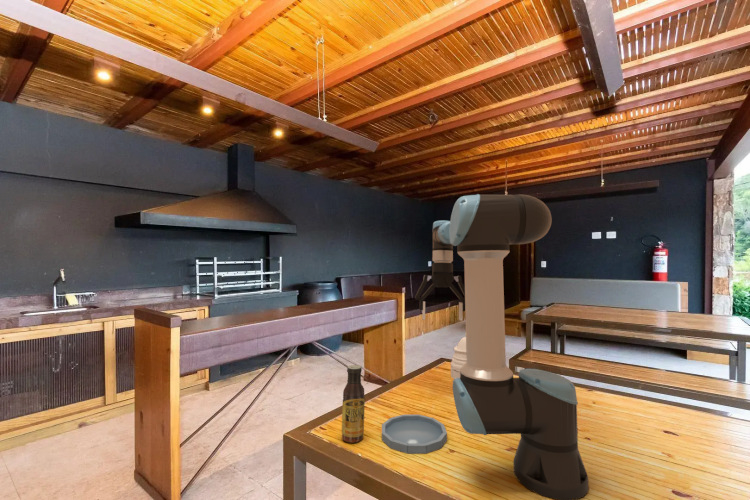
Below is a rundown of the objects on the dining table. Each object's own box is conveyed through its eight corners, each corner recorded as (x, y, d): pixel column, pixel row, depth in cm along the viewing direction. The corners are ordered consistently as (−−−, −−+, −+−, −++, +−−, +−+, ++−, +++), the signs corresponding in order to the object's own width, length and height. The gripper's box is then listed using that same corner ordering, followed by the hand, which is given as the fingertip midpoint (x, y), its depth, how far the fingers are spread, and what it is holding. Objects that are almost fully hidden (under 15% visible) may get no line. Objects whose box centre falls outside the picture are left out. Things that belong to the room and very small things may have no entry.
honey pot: (462, 369, 156) (461, 329, 157) (488, 376, 146) (487, 334, 147) (444, 376, 148) (443, 333, 149) (470, 384, 138) (469, 338, 139)
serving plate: (451, 453, 89) (451, 445, 89) (381, 453, 89) (381, 445, 89) (440, 421, 107) (440, 414, 107) (381, 421, 107) (381, 414, 107)
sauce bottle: (343, 445, 93) (343, 371, 94) (340, 434, 99) (339, 364, 100) (367, 442, 95) (366, 369, 95) (362, 431, 101) (361, 362, 101)
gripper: (473, 263, 132) (473, 319, 131) (408, 262, 133) (407, 317, 132) (478, 262, 125) (478, 322, 123) (409, 261, 126) (408, 320, 124)
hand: (442, 319), depth 128 cm, fingers open, 13 cm apart
